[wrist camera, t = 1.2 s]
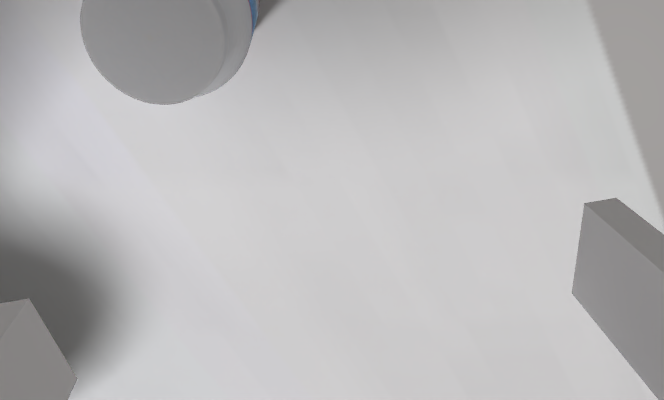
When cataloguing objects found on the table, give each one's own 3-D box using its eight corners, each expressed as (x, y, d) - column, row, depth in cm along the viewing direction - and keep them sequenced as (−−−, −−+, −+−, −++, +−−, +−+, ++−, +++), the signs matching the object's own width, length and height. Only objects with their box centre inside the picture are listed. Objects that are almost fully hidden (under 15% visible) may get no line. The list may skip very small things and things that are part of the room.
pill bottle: (146, -81, 23) (48, -96, 14) (268, -49, 25) (260, -41, 15) (139, 43, 26) (54, 105, 16) (250, 67, 27) (233, 138, 17)
